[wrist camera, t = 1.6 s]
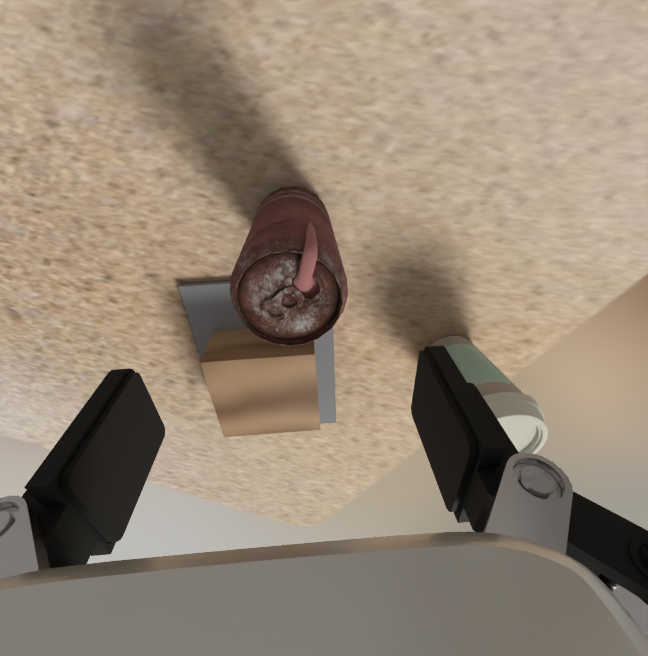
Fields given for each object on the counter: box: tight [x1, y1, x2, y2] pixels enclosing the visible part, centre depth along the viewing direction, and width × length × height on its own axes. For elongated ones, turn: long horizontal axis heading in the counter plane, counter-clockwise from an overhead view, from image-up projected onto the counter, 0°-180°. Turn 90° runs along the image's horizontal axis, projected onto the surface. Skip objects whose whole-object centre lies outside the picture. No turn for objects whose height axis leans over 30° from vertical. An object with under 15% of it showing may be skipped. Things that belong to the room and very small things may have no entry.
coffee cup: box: [430, 336, 548, 454], centre depth 32 cm, size 8×9×12 cm
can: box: [230, 186, 348, 346], centre depth 22 cm, size 6×6×14 cm
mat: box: [178, 281, 336, 424], centre depth 36 cm, size 20×14×1 cm
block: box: [200, 328, 320, 437], centre depth 33 cm, size 10×10×5 cm
